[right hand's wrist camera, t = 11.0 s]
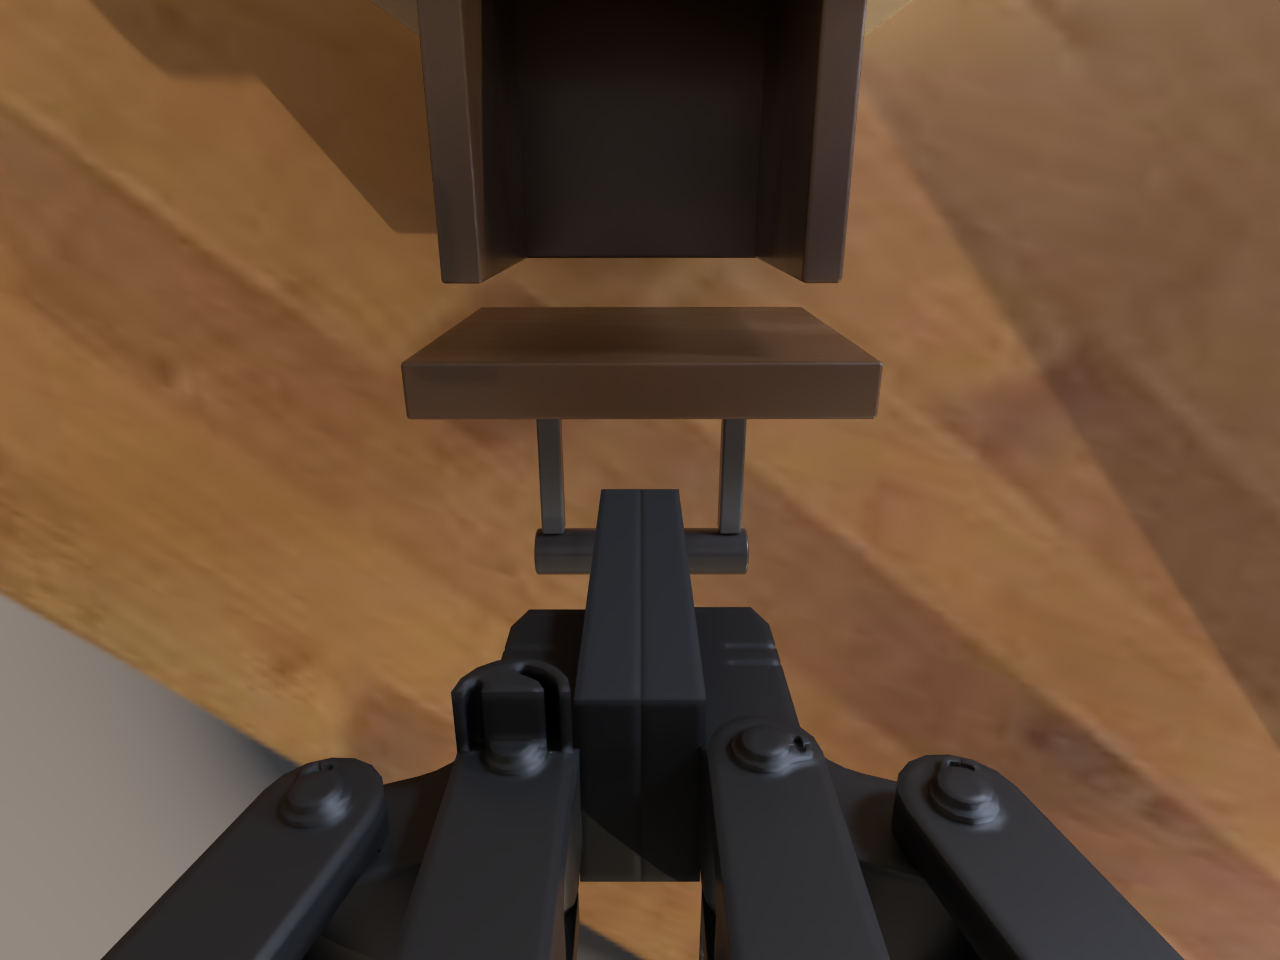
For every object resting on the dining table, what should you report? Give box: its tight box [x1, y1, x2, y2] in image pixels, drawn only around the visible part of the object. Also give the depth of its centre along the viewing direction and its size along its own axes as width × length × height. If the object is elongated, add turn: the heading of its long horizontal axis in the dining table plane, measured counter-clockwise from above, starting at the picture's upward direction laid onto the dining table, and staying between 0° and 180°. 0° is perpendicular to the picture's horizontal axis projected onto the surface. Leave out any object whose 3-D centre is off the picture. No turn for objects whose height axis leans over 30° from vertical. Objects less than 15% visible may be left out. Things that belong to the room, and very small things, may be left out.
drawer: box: [401, 0, 883, 574], centre depth 17 cm, size 23×10×8 cm, turn 0°
